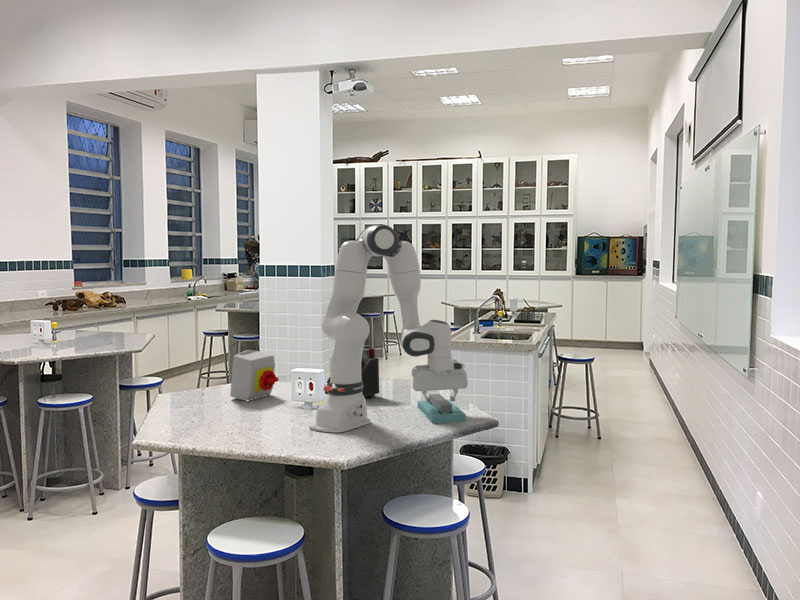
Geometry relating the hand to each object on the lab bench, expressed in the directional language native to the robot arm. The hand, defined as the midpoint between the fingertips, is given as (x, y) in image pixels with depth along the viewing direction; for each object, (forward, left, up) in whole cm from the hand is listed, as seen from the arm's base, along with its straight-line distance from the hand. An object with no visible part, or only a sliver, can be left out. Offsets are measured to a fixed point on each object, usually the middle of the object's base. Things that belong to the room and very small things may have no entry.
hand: (440, 401), depth 233 cm
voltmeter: (+12, +45, -5) cm, 47 cm away
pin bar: (0, 0, -5) cm, 5 cm away
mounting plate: (0, 0, -5) cm, 5 cm away
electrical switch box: (-5, +81, -5) cm, 82 cm away
